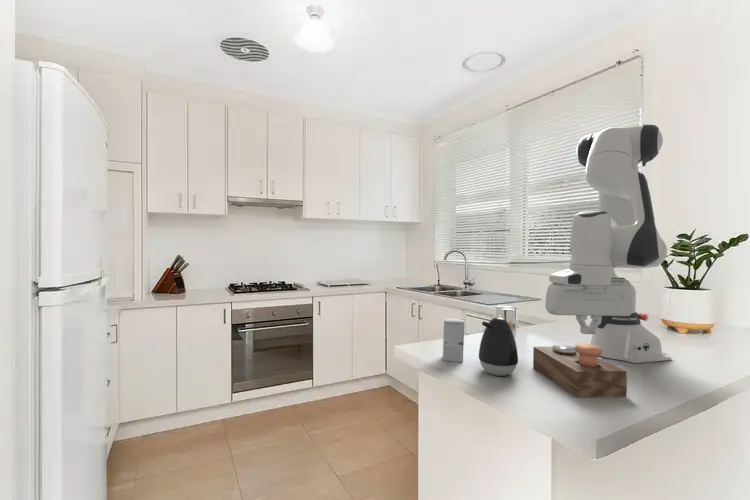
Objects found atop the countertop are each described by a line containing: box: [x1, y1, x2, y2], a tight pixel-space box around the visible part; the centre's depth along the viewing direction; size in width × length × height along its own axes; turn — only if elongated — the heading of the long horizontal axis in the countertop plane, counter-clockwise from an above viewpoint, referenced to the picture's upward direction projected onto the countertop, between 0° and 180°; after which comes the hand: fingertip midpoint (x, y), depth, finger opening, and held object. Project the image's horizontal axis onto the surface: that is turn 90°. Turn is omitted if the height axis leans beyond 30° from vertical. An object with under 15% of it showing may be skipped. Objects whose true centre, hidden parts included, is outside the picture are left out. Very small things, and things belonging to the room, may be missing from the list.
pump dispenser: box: [478, 317, 519, 377], centre depth 98 cm, size 10×10×15 cm
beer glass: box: [493, 305, 519, 339], centre depth 114 cm, size 7×7×15 cm
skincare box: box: [442, 317, 465, 363], centre depth 109 cm, size 6×4×12 cm
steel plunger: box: [552, 344, 576, 355], centre depth 98 cm, size 6×6×5 cm
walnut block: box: [532, 345, 628, 398], centre depth 93 cm, size 12×20×6 cm, turn 3°
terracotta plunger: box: [574, 343, 602, 367], centre depth 88 cm, size 6×6×5 cm
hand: (588, 333), depth 87 cm, fingers closed
